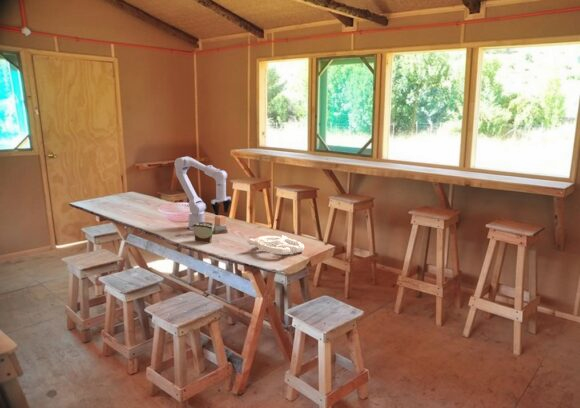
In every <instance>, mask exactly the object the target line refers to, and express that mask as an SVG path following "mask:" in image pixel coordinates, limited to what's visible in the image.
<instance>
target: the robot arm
mask: <svg viewBox="0 0 580 408" xmlns="http://www.w3.org/2000/svg"><path fill="white" fill-rule="evenodd" d="M173 165H174V167H175V176H176V177H177V179H178V181H179V184H180V185H181V187H182V189H183V191H184V192H185V194H186V196H187V199H188V207H189V211H190V213H189V214H188V216H187V217H188V218H187V219H188V224H187V225H188V228H189V230H190V231H194V227H192V226H193V223H197V222H205V211H206V209H207V205H206V203H205V202H204V201H203V199H202V198H200V197H199V196H198V194H197V192H196V191H195V189H194V186H193V185H192V182H191V180H190V179H189V177H188V175H187V173H188V170H189V169H190V167H193V168H195V169H197V170H201V171H203V173H204V174H205V175H207V176H209V177H210V178H213V179H214V180H215V189H216V190H215V193H216V194H215V196H216V198H214V199H210V205H211V207H212V209H213V213H214V214H215V216H219V213H220V211H219V210H220V206H221V204H219V203H222V204H223V211H224V213H226V214H228V212H229V208H230V206H231V204H232V196H227V179H228V173H227V171H225V170H223V169H220V168H216V167H214V166H213V164H210V165H205V164H203V163H202V162H200V161H198V160H196V159H194V158H192V157H190V156H189V155H186V156H182V157H177V158H175V161H174V164H173Z"/></svg>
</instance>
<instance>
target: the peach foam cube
mask: <svg viewBox="0 0 580 408" xmlns="http://www.w3.org/2000/svg"><path fill="white" fill-rule="evenodd" d="M214 224H215V225H217V226H222V225H226V216H225V215H215V216H214Z"/></svg>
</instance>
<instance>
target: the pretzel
mask: <svg viewBox="0 0 580 408" xmlns="http://www.w3.org/2000/svg"><path fill="white" fill-rule="evenodd" d="M246 242H247V244H248V245H250V246H252V245H253V246H254V247H257V248H258V249H259V250H261V251H263V252H266V253H270V254H274V255H289V254H291V253H295V254H296V253H297V254H298V253H303V251H304V249H305V245H304V244H303V243H302V242H301V241H298V240H297V239H294V238H289V237H288V236H286V235H280V236H277V235H263V236H261V235H260V236H258V237H256V238H251V237H250V238H248V239H247V240H246Z"/></svg>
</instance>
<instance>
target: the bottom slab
mask: <svg viewBox="0 0 580 408" xmlns="http://www.w3.org/2000/svg"><path fill="white" fill-rule="evenodd" d="M212 232H214V234H215V235H221V234H228V233H229V232H228V228H226V230H217V231H216V230H215V228H214V229H212Z"/></svg>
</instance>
